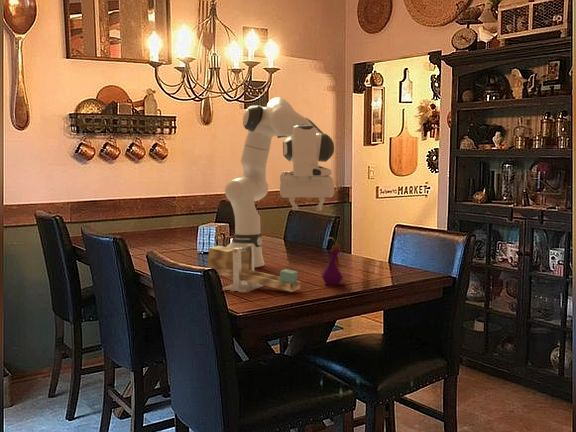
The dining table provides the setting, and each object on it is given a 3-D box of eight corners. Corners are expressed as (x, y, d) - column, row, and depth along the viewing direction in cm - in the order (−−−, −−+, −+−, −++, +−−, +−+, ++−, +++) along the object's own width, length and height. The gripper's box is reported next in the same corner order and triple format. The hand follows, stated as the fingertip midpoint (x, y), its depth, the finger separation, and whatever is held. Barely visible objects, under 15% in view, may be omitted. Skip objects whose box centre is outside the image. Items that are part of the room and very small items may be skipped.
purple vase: (340, 282, 253) (340, 235, 251) (342, 286, 245) (342, 238, 243) (321, 282, 252) (320, 236, 251) (322, 286, 245) (322, 238, 243)
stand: (222, 290, 241) (221, 248, 239) (242, 283, 253) (242, 243, 252) (246, 292, 236) (245, 250, 235) (265, 285, 248) (264, 244, 247)
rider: (278, 284, 235) (280, 270, 234) (284, 282, 239) (285, 269, 238) (291, 287, 233) (292, 273, 232) (296, 285, 237) (297, 271, 236)
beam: (207, 271, 248) (209, 246, 246) (216, 268, 253) (218, 244, 252) (291, 291, 232) (294, 264, 230) (300, 288, 237) (302, 261, 236)
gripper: (275, 172, 233) (277, 210, 235) (327, 170, 223) (329, 211, 225) (284, 171, 239) (285, 209, 240) (335, 170, 229) (336, 209, 230)
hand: (307, 210), depth 232 cm, fingers open, 8 cm apart
